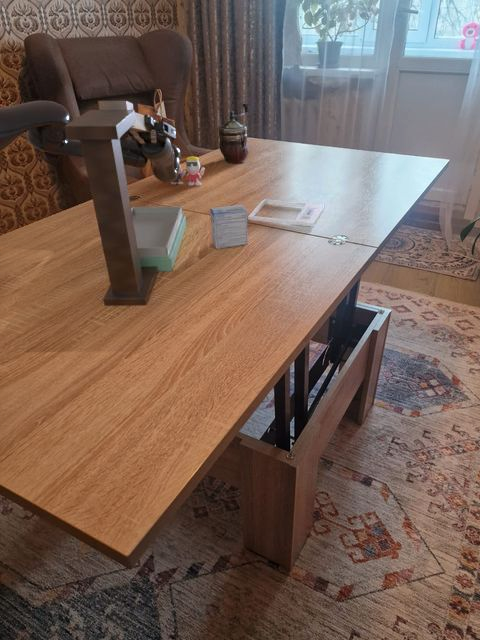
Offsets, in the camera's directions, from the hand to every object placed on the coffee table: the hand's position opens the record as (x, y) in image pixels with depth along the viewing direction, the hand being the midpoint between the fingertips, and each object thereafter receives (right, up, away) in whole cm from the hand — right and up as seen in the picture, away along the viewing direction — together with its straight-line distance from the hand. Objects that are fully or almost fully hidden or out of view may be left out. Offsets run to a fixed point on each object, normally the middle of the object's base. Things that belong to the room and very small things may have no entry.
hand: (138, 119), depth 104 cm
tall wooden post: (0, -37, -6) cm, 38 cm away
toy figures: (+3, +4, +52) cm, 52 cm away
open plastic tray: (0, -25, +11) cm, 28 cm away
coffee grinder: (+17, +22, +76) cm, 81 cm away
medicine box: (+19, -25, +12) cm, 33 cm away
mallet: (0, -5, -7) cm, 8 cm away
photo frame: (+34, -13, +29) cm, 46 cm away
